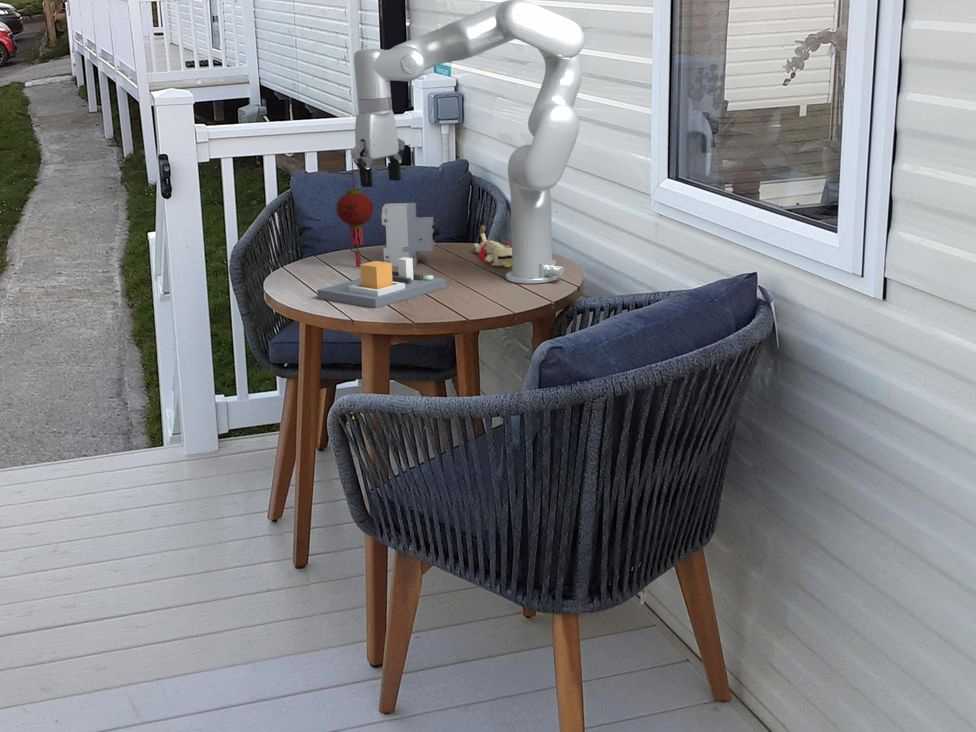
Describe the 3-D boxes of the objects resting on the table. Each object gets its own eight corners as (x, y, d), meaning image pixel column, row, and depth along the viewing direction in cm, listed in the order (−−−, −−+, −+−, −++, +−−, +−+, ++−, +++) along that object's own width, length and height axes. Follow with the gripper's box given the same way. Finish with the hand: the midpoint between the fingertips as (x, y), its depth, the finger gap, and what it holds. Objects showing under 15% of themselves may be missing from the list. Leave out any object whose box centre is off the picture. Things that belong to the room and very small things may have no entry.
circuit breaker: (439, 265, 299) (437, 206, 295) (384, 266, 299) (381, 208, 295) (441, 259, 306) (439, 202, 302) (387, 260, 307) (384, 203, 302)
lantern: (371, 271, 293) (364, 151, 285) (335, 271, 295) (327, 151, 286) (381, 264, 302) (375, 146, 294) (346, 263, 304) (338, 147, 295)
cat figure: (464, 258, 313) (490, 268, 290) (463, 226, 312) (488, 233, 288) (500, 255, 316) (528, 265, 292) (498, 223, 314) (526, 230, 290)
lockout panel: (445, 287, 274) (445, 273, 273) (375, 308, 256) (374, 293, 255) (389, 278, 285) (388, 266, 284) (317, 298, 266) (317, 284, 266)
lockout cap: (392, 289, 264) (391, 263, 263) (377, 293, 261) (376, 267, 259) (376, 286, 267) (375, 260, 266) (361, 290, 264) (359, 264, 262)
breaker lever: (413, 279, 273) (412, 258, 272) (406, 281, 271) (405, 259, 270) (405, 278, 274) (404, 257, 273) (398, 280, 273) (397, 258, 271)
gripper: (387, 102, 269) (393, 177, 274) (335, 110, 255) (343, 188, 260) (412, 102, 264) (418, 178, 269) (361, 110, 251) (368, 190, 256)
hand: (381, 183), depth 265 cm, fingers open, 9 cm apart
